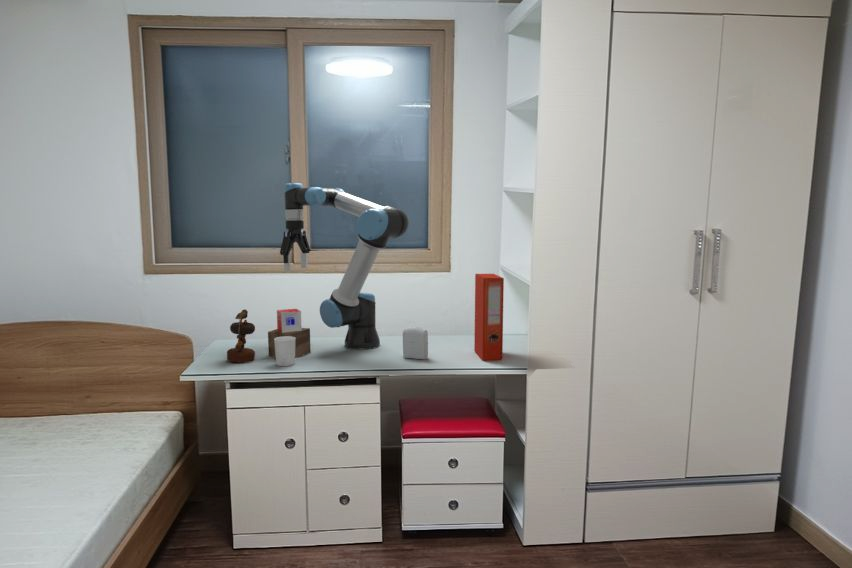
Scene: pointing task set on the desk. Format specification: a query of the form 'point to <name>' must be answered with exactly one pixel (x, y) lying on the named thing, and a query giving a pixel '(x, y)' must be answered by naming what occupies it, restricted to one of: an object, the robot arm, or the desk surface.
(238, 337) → the brown tall carved piece
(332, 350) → the desk surface
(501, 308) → the file binder
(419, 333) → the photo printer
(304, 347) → the walnut pedestal
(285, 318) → the red white patterned cube
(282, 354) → the white cup
